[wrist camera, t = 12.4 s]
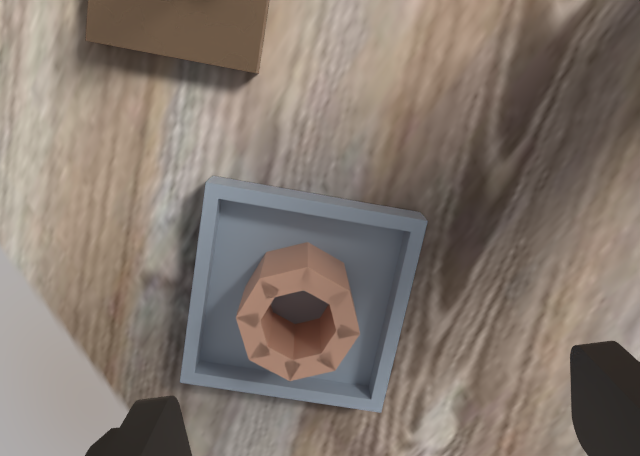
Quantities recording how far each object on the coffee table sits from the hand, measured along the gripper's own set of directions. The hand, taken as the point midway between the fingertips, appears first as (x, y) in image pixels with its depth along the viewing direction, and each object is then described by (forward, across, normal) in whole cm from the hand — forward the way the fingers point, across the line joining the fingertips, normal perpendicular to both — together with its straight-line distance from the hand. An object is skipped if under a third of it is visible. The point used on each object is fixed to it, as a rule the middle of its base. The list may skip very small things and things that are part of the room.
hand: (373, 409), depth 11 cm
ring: (+21, +3, +6) cm, 22 cm away
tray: (+22, +3, +6) cm, 23 cm away
